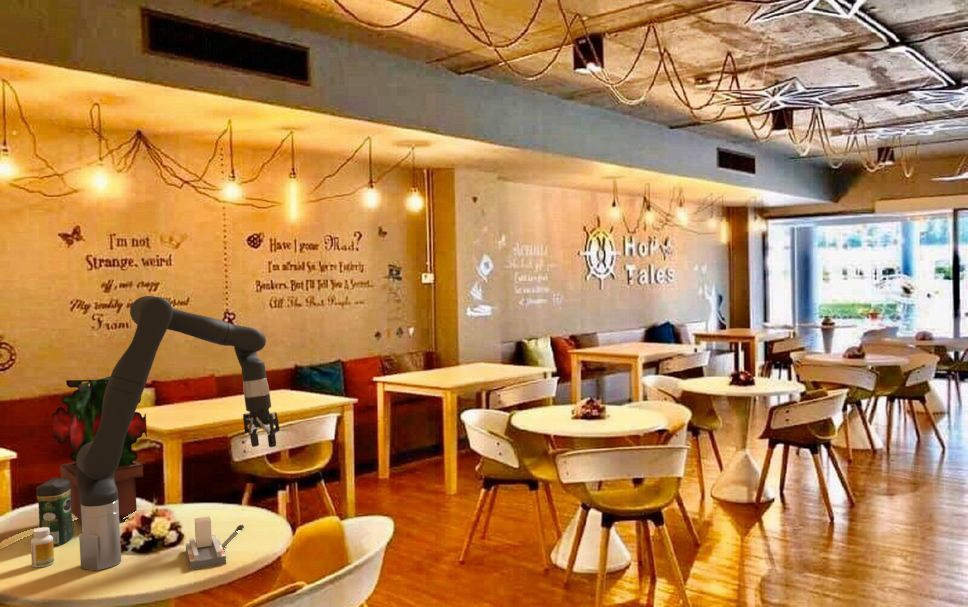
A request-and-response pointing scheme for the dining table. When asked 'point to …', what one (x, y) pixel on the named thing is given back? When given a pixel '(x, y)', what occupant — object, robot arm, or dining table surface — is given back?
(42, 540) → the supplement bottle
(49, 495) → the coffee jar
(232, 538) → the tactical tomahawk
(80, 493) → the robot arm
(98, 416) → the potted plant
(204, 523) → the switch tab
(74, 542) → the dining table surface
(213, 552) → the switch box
